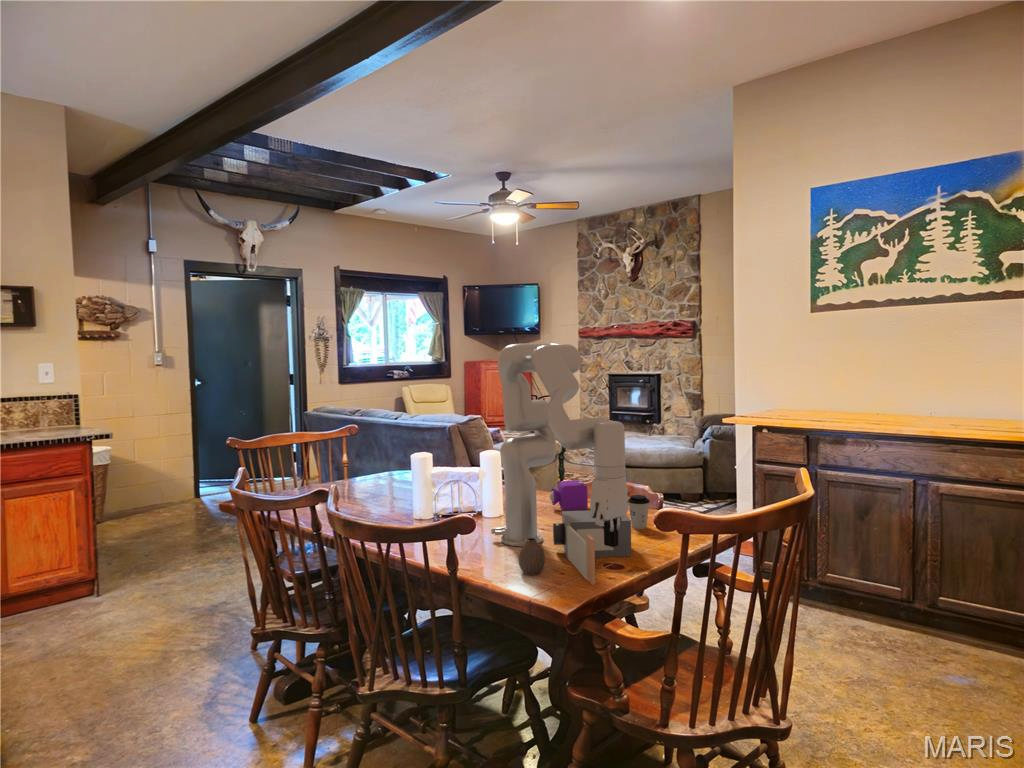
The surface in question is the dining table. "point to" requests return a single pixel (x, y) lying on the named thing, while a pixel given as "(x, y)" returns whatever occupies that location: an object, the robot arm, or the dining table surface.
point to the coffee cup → (638, 511)
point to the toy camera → (570, 495)
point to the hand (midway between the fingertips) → (611, 545)
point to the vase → (531, 557)
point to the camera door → (581, 553)
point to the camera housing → (593, 533)
